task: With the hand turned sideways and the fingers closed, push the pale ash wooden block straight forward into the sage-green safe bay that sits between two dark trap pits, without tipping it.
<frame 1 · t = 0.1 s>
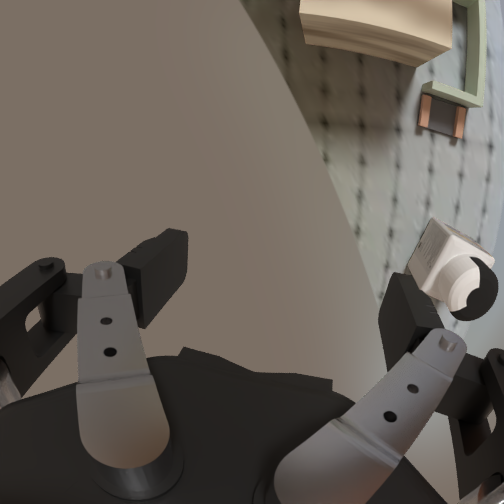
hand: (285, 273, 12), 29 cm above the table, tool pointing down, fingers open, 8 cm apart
trap box: (447, 42, 28), on the table
container: (440, 250, 39), on the table
ash block: (365, 19, 29), on the table
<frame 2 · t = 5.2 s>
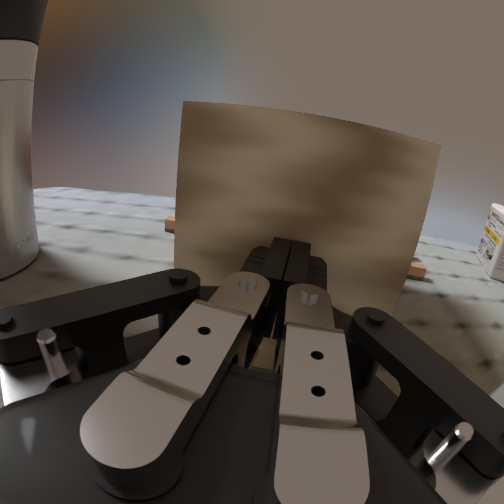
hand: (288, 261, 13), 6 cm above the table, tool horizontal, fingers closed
trap box: (296, 243, 31), on the table
container: (503, 274, 32), on the table
ash block: (284, 299, 22), on the table, touching gripper
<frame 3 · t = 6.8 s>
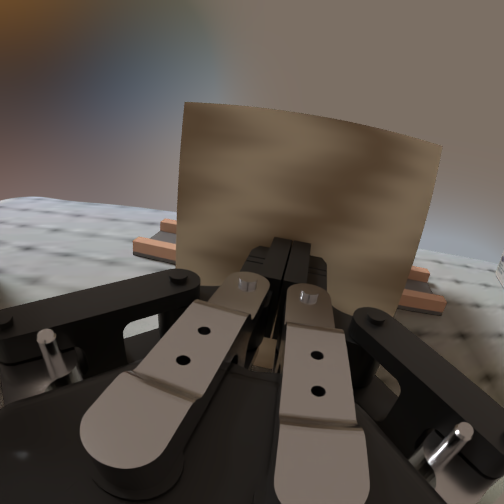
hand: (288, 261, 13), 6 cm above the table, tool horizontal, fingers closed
trap box: (291, 269, 26), on the table
ash block: (285, 300, 22), on the table, touching gripper
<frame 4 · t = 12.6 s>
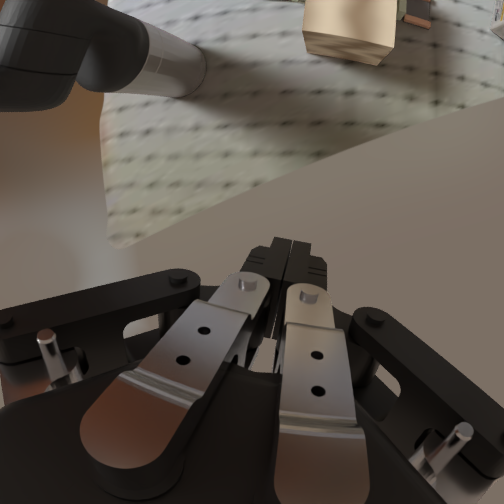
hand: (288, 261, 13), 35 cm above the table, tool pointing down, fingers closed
ash block: (346, 17, 35), on the table
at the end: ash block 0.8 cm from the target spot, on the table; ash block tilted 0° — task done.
